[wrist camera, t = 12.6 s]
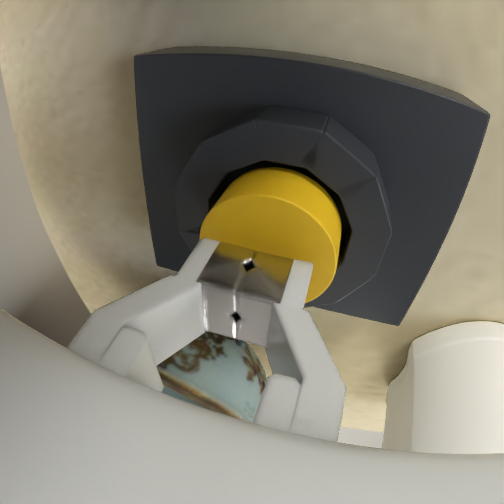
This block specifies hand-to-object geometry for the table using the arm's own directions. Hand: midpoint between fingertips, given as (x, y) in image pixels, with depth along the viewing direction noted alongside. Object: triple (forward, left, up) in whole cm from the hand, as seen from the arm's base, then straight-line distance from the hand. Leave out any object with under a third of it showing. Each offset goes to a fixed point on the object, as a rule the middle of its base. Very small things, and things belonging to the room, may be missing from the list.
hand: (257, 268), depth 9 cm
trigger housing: (0, 0, -7) cm, 7 cm away
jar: (-14, +12, -7) cm, 20 cm away
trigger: (0, 0, -2) cm, 2 cm away
